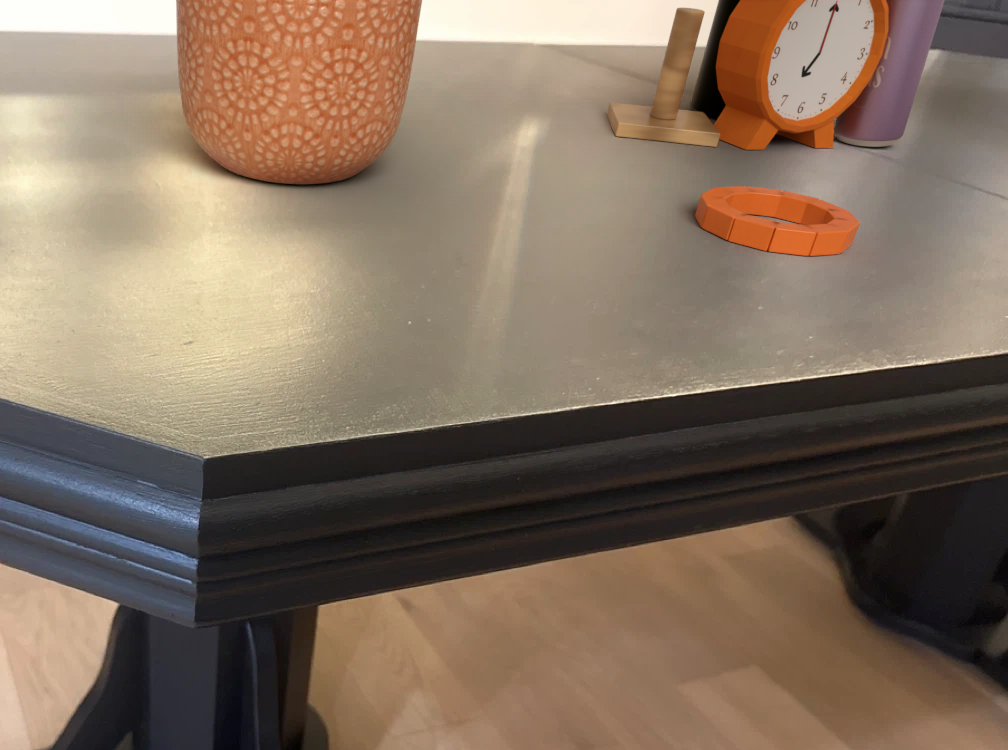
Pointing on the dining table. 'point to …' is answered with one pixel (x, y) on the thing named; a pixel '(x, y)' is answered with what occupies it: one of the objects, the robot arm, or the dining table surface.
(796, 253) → the disc ring
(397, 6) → the planter
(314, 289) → the dining table surface
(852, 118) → the beverage can
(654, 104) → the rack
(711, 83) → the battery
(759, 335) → the dining table surface
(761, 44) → the alarm clock
